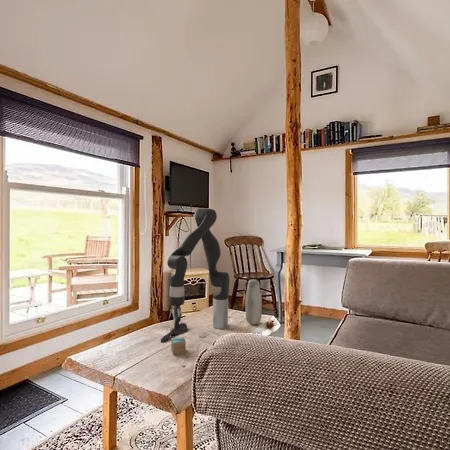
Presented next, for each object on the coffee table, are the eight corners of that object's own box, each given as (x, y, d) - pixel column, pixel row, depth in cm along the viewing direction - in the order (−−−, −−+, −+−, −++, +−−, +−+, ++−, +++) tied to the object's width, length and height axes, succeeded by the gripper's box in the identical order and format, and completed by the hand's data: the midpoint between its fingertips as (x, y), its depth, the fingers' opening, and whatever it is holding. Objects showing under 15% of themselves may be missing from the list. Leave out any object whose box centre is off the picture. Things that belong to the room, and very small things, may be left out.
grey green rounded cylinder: (245, 321, 204) (245, 277, 204) (261, 321, 203) (261, 278, 203) (245, 326, 194) (245, 280, 194) (261, 326, 193) (262, 280, 193)
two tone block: (171, 350, 158) (171, 338, 158) (183, 348, 160) (183, 336, 160) (173, 355, 152) (173, 342, 152) (185, 353, 154) (185, 341, 154)
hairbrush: (154, 337, 169) (177, 320, 192) (155, 343, 169) (177, 326, 193) (168, 339, 166) (190, 322, 189) (168, 346, 166) (190, 328, 190)
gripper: (186, 297, 156) (186, 332, 156) (181, 291, 168) (181, 324, 168) (171, 298, 153) (171, 334, 153) (167, 292, 166) (167, 325, 166)
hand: (176, 329), depth 161 cm, fingers closed
